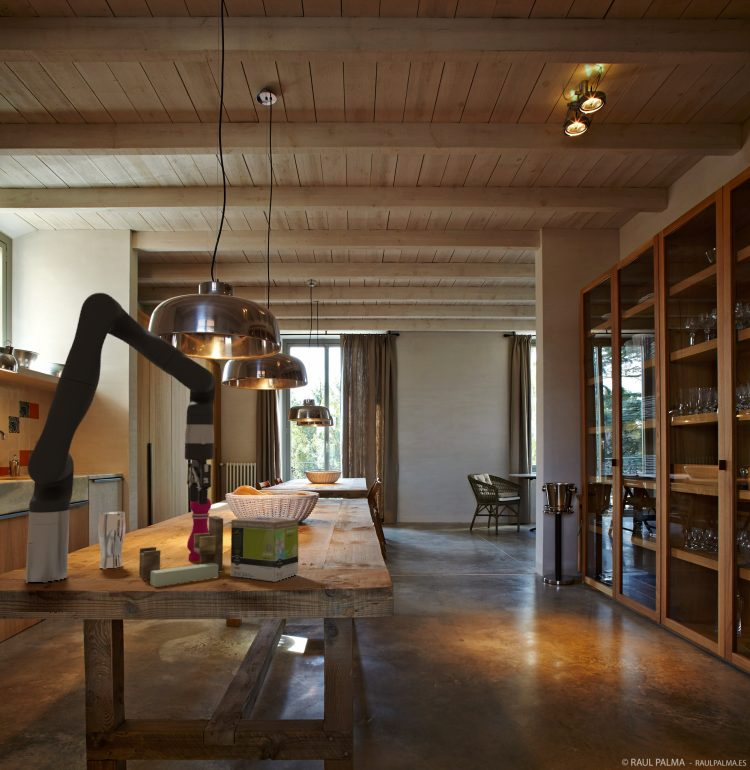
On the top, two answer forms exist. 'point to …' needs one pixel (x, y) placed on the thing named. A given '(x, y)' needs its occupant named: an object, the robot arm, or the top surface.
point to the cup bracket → (211, 543)
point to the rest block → (148, 561)
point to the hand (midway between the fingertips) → (198, 503)
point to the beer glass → (111, 538)
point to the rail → (183, 574)
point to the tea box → (264, 548)
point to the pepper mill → (198, 525)
